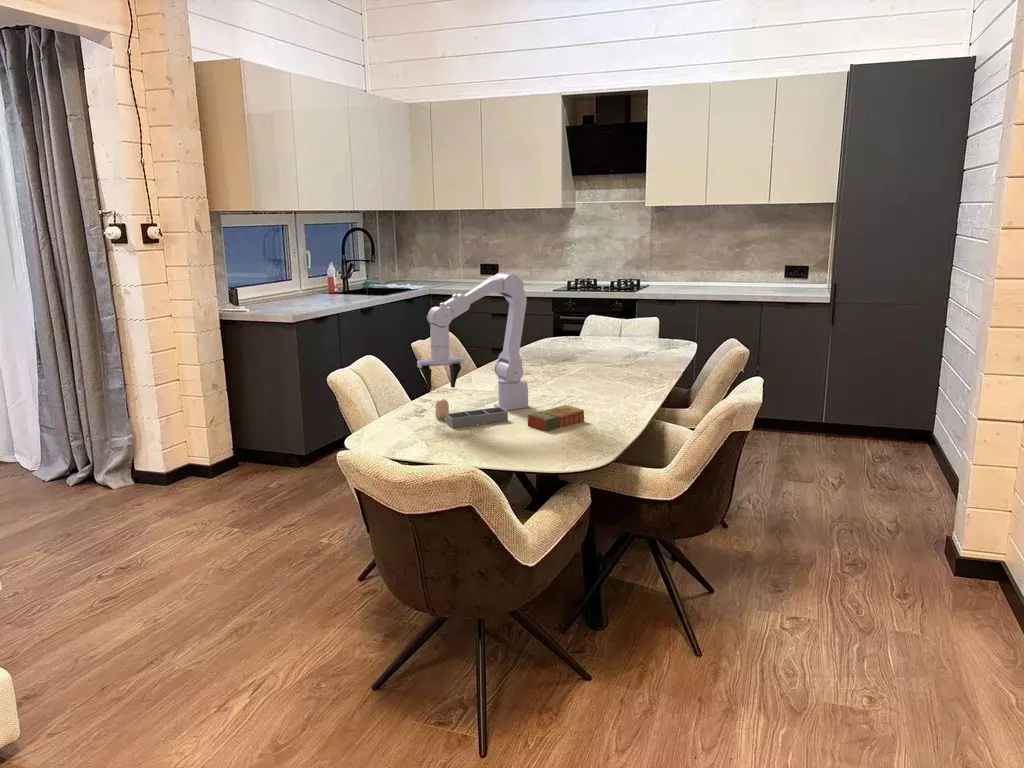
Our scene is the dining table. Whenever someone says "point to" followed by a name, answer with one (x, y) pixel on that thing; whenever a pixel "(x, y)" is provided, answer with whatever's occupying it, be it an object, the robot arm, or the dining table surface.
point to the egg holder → (476, 417)
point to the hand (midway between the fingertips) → (441, 388)
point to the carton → (556, 418)
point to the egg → (441, 408)
